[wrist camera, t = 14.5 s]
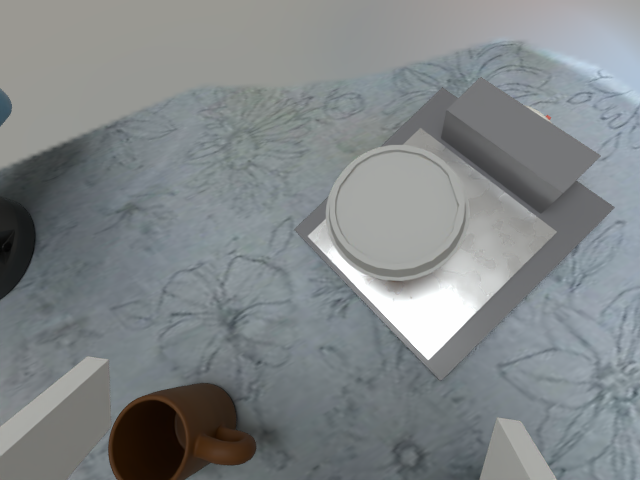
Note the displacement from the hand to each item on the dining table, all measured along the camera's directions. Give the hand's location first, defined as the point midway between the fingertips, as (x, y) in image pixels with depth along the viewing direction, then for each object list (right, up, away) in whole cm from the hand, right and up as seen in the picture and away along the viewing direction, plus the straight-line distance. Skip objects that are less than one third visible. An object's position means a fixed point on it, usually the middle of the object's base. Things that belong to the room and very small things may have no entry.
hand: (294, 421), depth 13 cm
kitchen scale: (+13, +7, +26) cm, 31 cm away
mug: (-9, -13, +26) cm, 30 cm away
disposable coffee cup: (+8, +5, +23) cm, 25 cm away
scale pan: (+11, +6, +23) cm, 27 cm away
